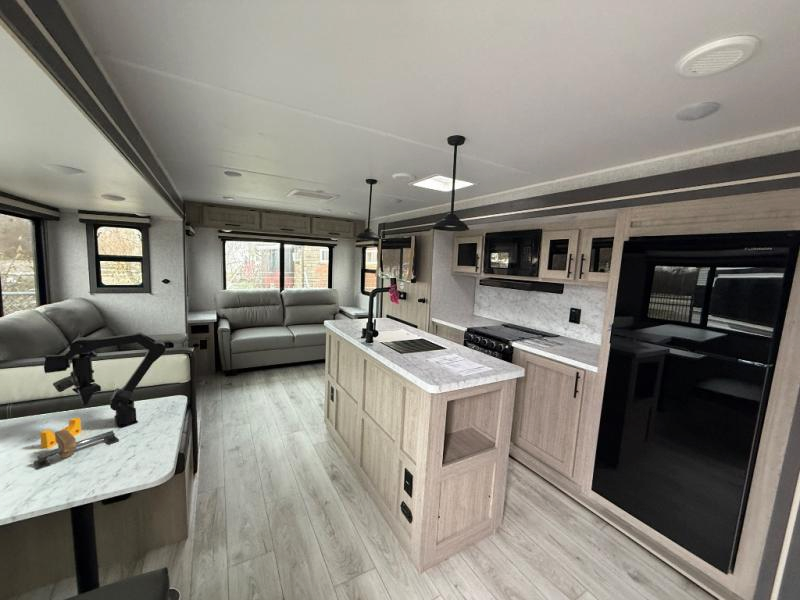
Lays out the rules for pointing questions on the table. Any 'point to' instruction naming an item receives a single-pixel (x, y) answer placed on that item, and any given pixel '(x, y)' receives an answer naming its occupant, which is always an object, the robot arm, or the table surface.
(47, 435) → the pipe clamp
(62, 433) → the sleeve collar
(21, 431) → the table surface
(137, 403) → the table surface
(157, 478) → the table surface
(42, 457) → the grey guide rail
